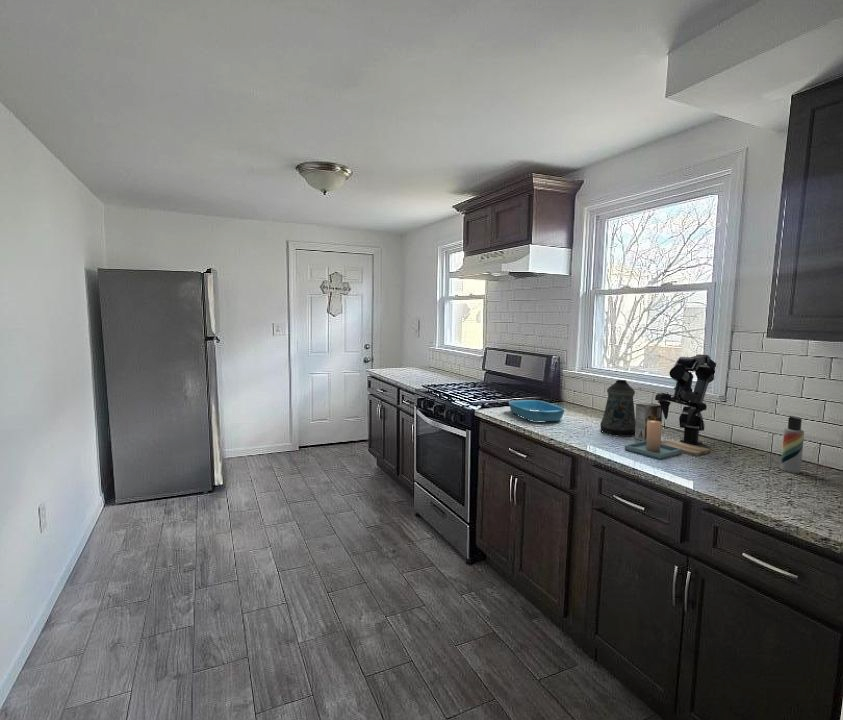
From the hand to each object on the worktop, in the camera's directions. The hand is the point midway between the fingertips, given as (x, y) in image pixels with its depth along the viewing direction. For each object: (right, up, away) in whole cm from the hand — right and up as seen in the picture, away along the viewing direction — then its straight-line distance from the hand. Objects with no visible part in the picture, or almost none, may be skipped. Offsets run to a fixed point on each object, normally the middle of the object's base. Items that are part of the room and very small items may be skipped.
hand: (676, 421), depth 195 cm
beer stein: (-11, -9, +32) cm, 35 cm away
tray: (-11, -12, -2) cm, 16 cm away
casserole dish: (-43, -6, +64) cm, 77 cm away
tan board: (+4, -12, +3) cm, 13 cm away
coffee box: (-3, -10, +18) cm, 21 cm away
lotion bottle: (+28, -15, -24) cm, 40 cm away
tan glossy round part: (-11, -11, -2) cm, 16 cm away
